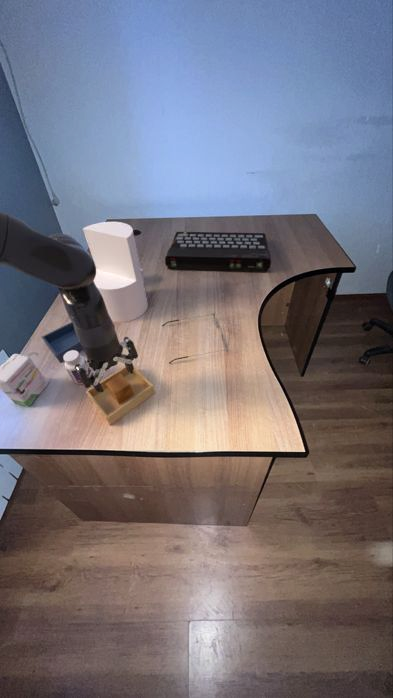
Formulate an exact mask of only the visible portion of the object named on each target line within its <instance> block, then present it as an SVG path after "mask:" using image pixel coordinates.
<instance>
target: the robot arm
mask: <svg viewBox="0 0 393 698" xmlns="http://www.w3.org/2000/svg"><path fill="white" fill-rule="evenodd" d="M0 265H1V266H6V267H9V268H11V269H12V268H13V269H14V270H17V271H19V272H21V273H23V274H25V275H27V276H28V277H29V276H30V277H32V278H34V279H36V280H38V281H40V282H42V283H43V282H44V283H46V284H48V285H51V286H54V287H55V288H56V289H57V291H58V293H59V295H60V297H61V300H62V302H63V305H64V308H65V310H66V314H67V315H68V318H69V320H70V323H71V322H72V324H73V326H74V330H75V333H76V335H77V337H78V339H79V341H80V343H81V346H82V348H83V350H82V351H84V354H85V356H86V363H84V364H83V365H80V364H76V365H75V369H76V371H77V374H78V376H79V378H80V381H81V382H82V383H83V384H82V385H83V386H84V387H85V389H90V388H91V387H94V388H95V390H96V391H97V392H101V393H102V392H103V391H104V390H103V388H102V386H101V384H100V382H101V379H102V378H103V376H104V374H105V371H109V370H110V369H111V368H112V367H115V366H116V365H118V363H122V364H124V366H126V369H127V371H128V372H129V373H130V374H131V373H133V370H134V367H135V366H134V364H133V361H134V359H135V360H136V359H138V357H139V354H138V351H137V349H136V346H135V343H134V342H133V341H132V339H131V338H130V337H128V336H124V338H123V341H122V342H120V341H119V338H118V335H117V332H116V328H115V327H116V326H115V324H114V322H113V321H112V320H111V318H110V316H109V314H108V311H107V308H106V305H105V302H104V299H103V297H102V295H101V293H100V291H99V290H98V288H97V287H96V285H95V283H94V281H93V280H94V278H95V276H96V266H95V263H94V260H93V257H92V255H91V253H89V252H88V251H87V249H86V248H85V247H84V246H83V245H82V244H81V242H80V241H79V240H77V239H76V238H75V237H73V236H71V235H69V234H66V233H59V232H58V233H53V234H50V235H49V236H48V235H45V234H43V233H41V232H39V231H36V230H35V229H34V228H32V227H31V226H30V225H29V224H28V223H26V222H25V221H23V220H22V219H20V218H18V217H16V216H14V215H12V214H9V213H6V212H5V211H3V210H0ZM124 349H126V350H127V352H128V354H125V353H123V351H124ZM133 366H134V367H133ZM88 368H90V370H91V373H90V376H89V378H88V377H87V375H86V374H88Z"/></svg>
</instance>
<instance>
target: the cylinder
mask: <svg viewBox="0 0 393 698" xmlns="http://www.w3.org/2000/svg"><path fill="white" fill-rule="evenodd" d="M82 231H83V234H84V236H85V240H86V242H87V246H88V249H89V251H90V256H91V257H92V259H93V260H94V263H95V266H96V276H95V278H94V280H93V281H94V283H95V285H96V287H97V288H98V290H99V291H100V293H101V295H102V297H103V299H104V302H105V305H106V308H107V311H108V314H109V316H110V318H111V320H112V322H113V323H127V322H131V321H135V320H136V319H138V318H140V317H141V316H143V315H144V314H145V312H147V310H148V306H149V304H148V299H147V292H146V288H145V283H143V278H142V273H141V269H142V268H141V264H140V260H139V259H140V258H139V255H138V249H137V243H136V240H135V234H134V229H133V227H132V226H131V225H129V224H128V223H125V222H122V221H101V222H96V223H93V224H90V225H87V226H85V227H83V228H82Z"/></svg>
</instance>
